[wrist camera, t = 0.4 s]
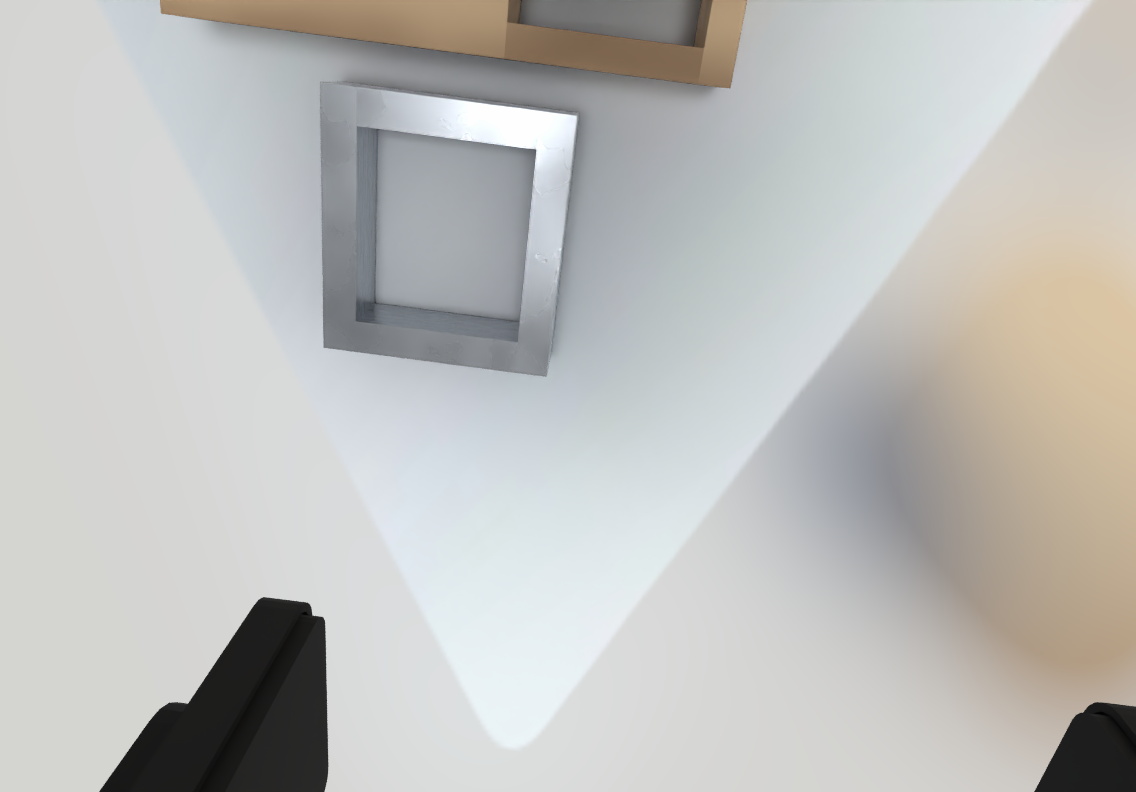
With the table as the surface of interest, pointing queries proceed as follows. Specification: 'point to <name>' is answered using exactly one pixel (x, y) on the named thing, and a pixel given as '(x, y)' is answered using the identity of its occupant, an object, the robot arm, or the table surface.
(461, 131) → the collar
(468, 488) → the table surface
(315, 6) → the wooden box
